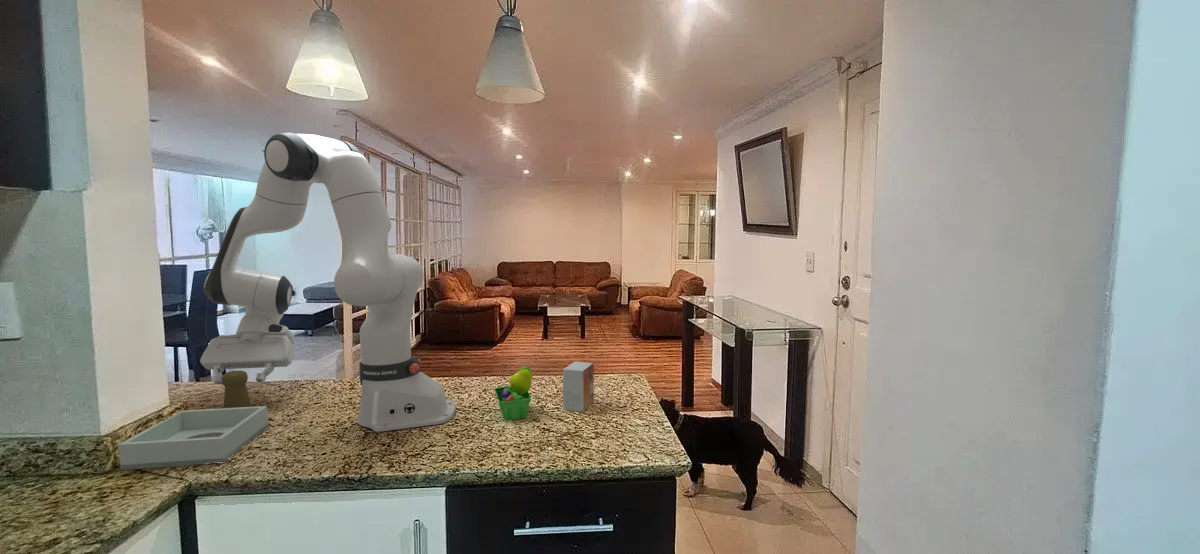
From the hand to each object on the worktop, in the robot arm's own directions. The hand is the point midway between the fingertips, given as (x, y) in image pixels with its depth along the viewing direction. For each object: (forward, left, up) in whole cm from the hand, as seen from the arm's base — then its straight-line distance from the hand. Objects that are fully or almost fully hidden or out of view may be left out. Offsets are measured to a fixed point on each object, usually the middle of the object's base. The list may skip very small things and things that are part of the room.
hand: (239, 382), depth 126 cm
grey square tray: (-2, +20, -8) cm, 21 cm away
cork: (0, +2, -8) cm, 8 cm away
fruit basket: (-67, +11, -8) cm, 68 cm away
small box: (-83, +9, -8) cm, 84 cm away
